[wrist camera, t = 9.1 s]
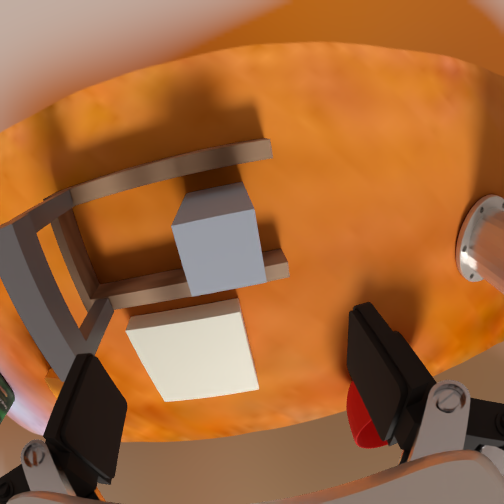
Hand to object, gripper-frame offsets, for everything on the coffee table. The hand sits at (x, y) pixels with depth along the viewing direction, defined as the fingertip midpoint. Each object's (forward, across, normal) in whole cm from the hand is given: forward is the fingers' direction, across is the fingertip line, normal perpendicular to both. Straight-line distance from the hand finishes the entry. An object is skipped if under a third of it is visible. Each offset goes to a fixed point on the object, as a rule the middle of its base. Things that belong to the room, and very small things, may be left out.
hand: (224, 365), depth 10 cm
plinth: (+18, +6, +15) cm, 24 cm away
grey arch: (+15, +12, 0) cm, 19 cm away
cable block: (+18, 0, 0) cm, 18 cm away
